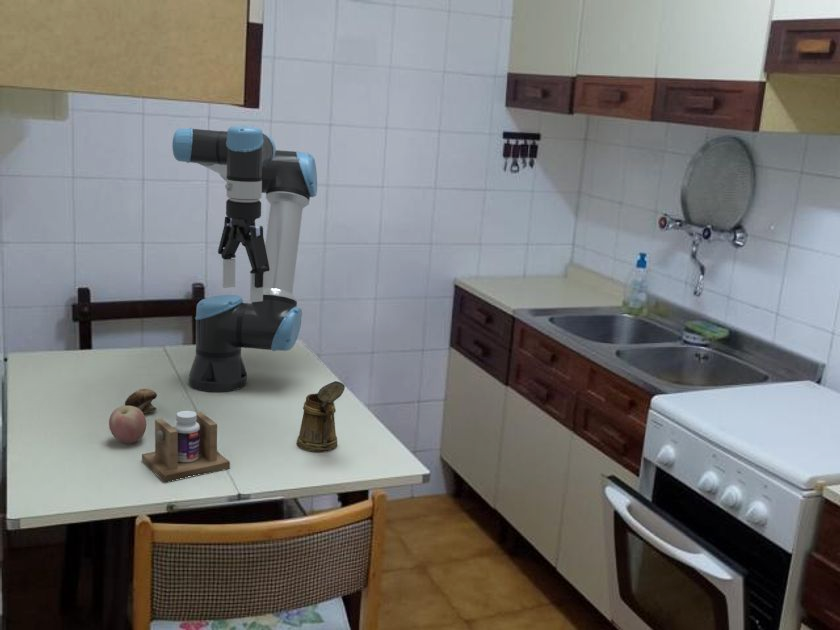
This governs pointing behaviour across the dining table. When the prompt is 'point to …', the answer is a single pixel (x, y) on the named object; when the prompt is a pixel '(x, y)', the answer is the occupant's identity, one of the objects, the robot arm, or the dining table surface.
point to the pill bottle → (187, 436)
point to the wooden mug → (320, 419)
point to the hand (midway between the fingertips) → (242, 294)
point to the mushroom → (142, 400)
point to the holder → (167, 451)
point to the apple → (127, 424)
